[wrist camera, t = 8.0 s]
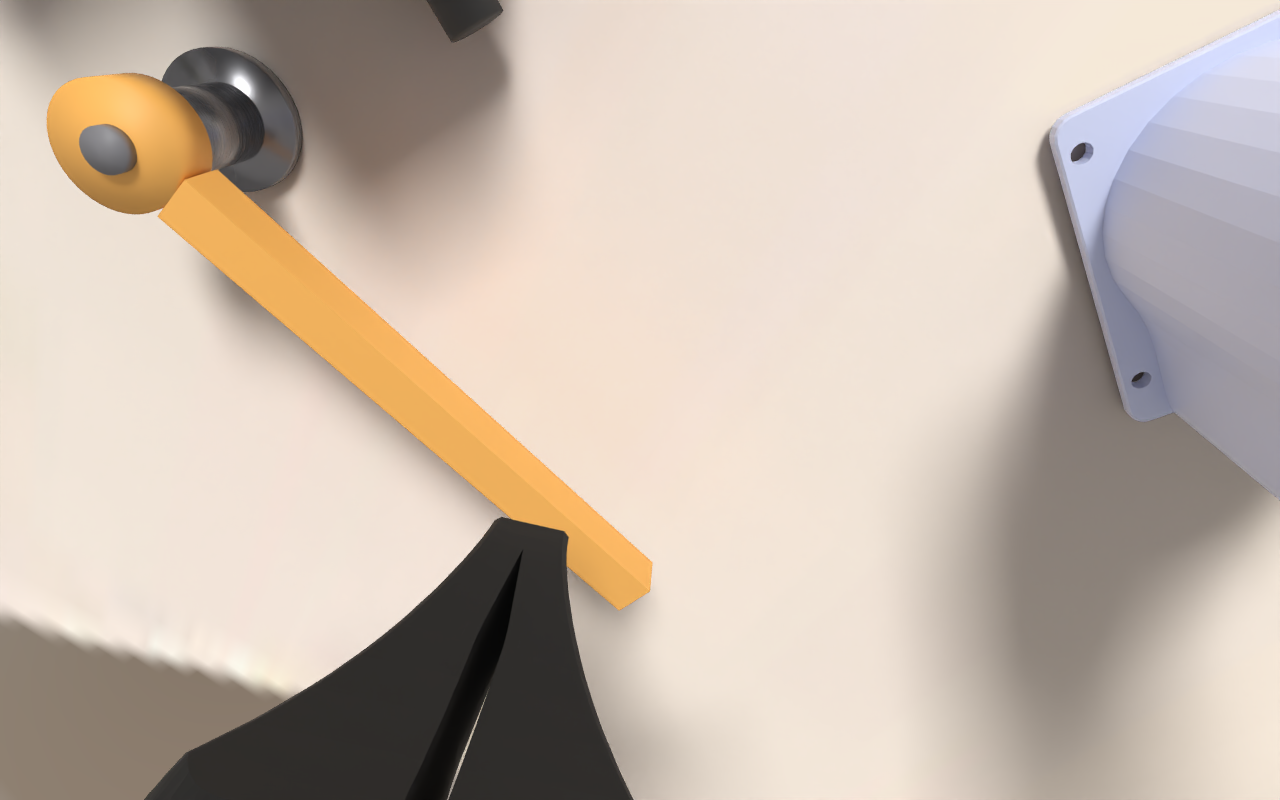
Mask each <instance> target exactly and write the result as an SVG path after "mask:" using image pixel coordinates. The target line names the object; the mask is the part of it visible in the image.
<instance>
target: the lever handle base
mask: <svg viewBox="0 0 1280 800" xmlns="http://www.w3.org/2000/svg"><path fill="white" fill-rule="evenodd" d="M162 82H164V83H166V84H167V85H169V86H170V87H172V88H173V89H175V90H176V91H177V92H178V93H179V94H181V95H182V96H183V97H184V98H185V99H186V100H187V101H188V102H189V104H190V105H191V106H192V107H193V108H194V110H195V111H196V113H197V114H198V116H199V117H200V119H201V120H202V122H203V124H204V126H205V128H206V131H207V133H208V136H209V139H210V143H211V148H212V159H213V160H212V169H211V171H214V170H219V171H220V172H221V173H222V174H223V175H224V176H225V177H226V178H227V179H228V180H230V181H231V182H232V183H233V184H234V185H235V186H236V187H237V188H238V189H240V190H241V191H242V192H253V191H258V190H262V189H265V188H267V187H270V186H272V185H275V184H277V183H278V182H280V181H282V180H283V179H284V178H285V177H287V176H288V175H289V173H290V172H291V171H292V170H293V168H294V167H295V165H296V163H297V160H298V158H299V155H300V151H301V144H302V130H301V123H300V119H299V115H298V112H297V109H296V106H295V104H294V102H293V100H292V98H291V96H290V94H289V92H288V91H287V89H286V88H285V86H284V85H283V84H282V82H281V81H280V80H279V78H278V77H277V76H276V75H275V74H274V73H273V72H272V71H271V70H270V69H269V68H267V67H266V66H265V65H264V64H263V63H261V62H260V61H258V60H257V59H255V58H254V57H252V56H250V55H248V54H246V53H243V52H241V51H238V50H235V49H231V48H226V47H206V48H197V49H193V50H190V51H188V52H185V53H183V54H182V55H180V56H179V57H177V58H176V59H175V60H174V61H173V62H172V63H171V65H170V66H169V67H168V69H167V70H166V72H165V74H164V76H163V79H162Z"/></svg>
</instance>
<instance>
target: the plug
mask: <svg viewBox="0 0 1280 800" xmlns="http://www.w3.org/2000/svg"><path fill="white" fill-rule="evenodd" d="M427 2H428V3H429V5H430V7H431V8H432V10H433V12H434V13H435V15H436V17H437V18H438V20H439V22H440V24H441V25H442V27H443V29H444V30H445V32H446V34H447V35H448V37H449V39H450V40H451V42H456V41H459V40H461V39H463V38H465V37H467V36H469V35H471V34H472V33H474V32H476V31H478V30H479V29H481V28H482V27H484V26H485V25H487V24H488V23H490V22H491V21H492V20H494V19H495V18H496V17H498V16H499V15H500V14H501V13H502V11H503V9H502V7H501V5H500V3H499V2H498V0H427Z"/></svg>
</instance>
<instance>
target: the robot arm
mask: <svg viewBox="0 0 1280 800" xmlns="http://www.w3.org/2000/svg"><path fill="white" fill-rule="evenodd" d="M1049 139H1050V146H1051V149H1052V153H1053V156H1054V160H1055V164H1056V167H1057V171H1058V174H1059V178H1060V181H1061V185H1062V189H1063V192H1064V196H1065V199H1066V203H1067V206H1068V210H1069V213H1070V217H1071V221H1072V224H1073V228H1074V231H1075V235H1076V238H1077V242H1078V246H1079V249H1080V253H1081V256H1082V260H1083V263H1084V267H1085V271H1086V274H1087V278H1088V281H1089V285H1090V288H1091V292H1092V296H1093V299H1094V303H1095V306H1096V310H1097V313H1098V317H1099V321H1100V324H1101V328H1102V331H1103V335H1104V338H1105V342H1106V346H1107V349H1108V353H1109V356H1110V360H1111V363H1112V367H1113V371H1114V374H1115V378H1116V381H1117V385H1118V388H1119V392H1120V396H1121V399H1122V403H1123V406H1124V409H1125V411H1126V412H1127V414H1128V415H1129V416H1131V417H1132V418H1133V419H1135V420H1136V421H1141V422H1146V421H1150V420H1154V419H1156V418H1159V417H1162V416H1165V415H1168V414H1170V413H1173V412H1174V413H1176V414H1177V415H1178V416H1179V417H1180V418H1182V419H1183V420H1184V421H1185V422H1186V423H1188V424H1189V425H1190V426H1191V427H1192V428H1194V429H1195V430H1196V431H1197V432H1198V433H1200V434H1201V435H1202V436H1203V437H1204V438H1206V439H1207V440H1208V441H1209V442H1210V443H1212V444H1213V445H1214V446H1215V447H1216V448H1217V449H1219V450H1220V451H1221V452H1222V453H1223V454H1225V455H1226V456H1227V457H1228V458H1229V459H1231V460H1232V461H1233V462H1234V463H1235V464H1237V465H1238V466H1239V467H1240V468H1241V469H1243V470H1244V471H1245V472H1246V473H1247V474H1249V475H1250V476H1251V477H1252V478H1253V479H1255V480H1256V481H1257V482H1258V483H1259V484H1261V485H1262V486H1263V487H1264V488H1265V489H1267V490H1268V491H1269V492H1270V493H1271V494H1273V495H1274V496H1275V497H1276V498H1277V499H1279V500H1280V10H1278V11H1276V12H1274V13H1271V14H1269V15H1267V16H1265V17H1263V18H1261V19H1259V20H1257V21H1255V22H1253V23H1251V24H1249V25H1247V26H1245V27H1243V28H1241V29H1239V30H1237V31H1235V32H1232V33H1230V34H1228V35H1226V36H1224V37H1222V38H1220V39H1218V40H1216V41H1214V42H1212V43H1210V44H1208V45H1206V46H1204V47H1202V48H1200V49H1198V50H1195V51H1193V52H1191V53H1189V54H1187V55H1185V56H1183V57H1181V58H1179V59H1177V60H1175V61H1173V62H1171V63H1169V64H1167V65H1165V66H1163V67H1161V68H1158V69H1156V70H1154V71H1152V72H1150V73H1148V74H1146V75H1144V76H1142V77H1140V78H1138V79H1136V80H1134V81H1132V82H1130V83H1128V84H1126V85H1124V86H1122V87H1119V88H1117V89H1115V90H1113V91H1111V92H1109V93H1107V94H1105V95H1103V96H1101V97H1099V98H1097V99H1095V100H1093V101H1091V102H1089V103H1087V104H1085V105H1082V106H1080V107H1078V108H1076V109H1074V110H1072V111H1070V112H1068V113H1066V114H1064V115H1063V116H1062V117H1060V118H1059V119H1058V120H1057V121H1056V122H1055V123H1054V125H1053V126H1052V128H1051V131H1050V134H1049ZM1079 143H1084V144H1085V145H1086V152H1085V153H1084V155H1083V157H1082V158H1080V159H1079V160H1078V161H1074V162H1072V160H1071V152H1072V150H1073V148H1074V147H1075V146H1077V145H1078V144H1079ZM1140 372H1144V375H1143V376H1142V378H1141V379H1139V380H1138V381H1136V382H1132V379H1133V377H1134V376H1135V375H1136V374H1138V373H1140ZM568 539H569V537H568V535H567V534H566V533H565V531H561V530H557V529H553V528H548V527H544V526H539V525H535V524H530V523H526V522H521V521H517V520H513V519H508V518H504V517H501V518H499V519H497V520H495V521H494V522H493V524H492V525H491V527H490V528H489V530H488V531H487V532H486V534H485V535H484V536H483V538H482V539H481V540H480V541H479V543H478V544H477V545H476V546H475V547H474V548H473V550H472V551H471V552H470V553H469V554H468V555H467V556H466V558H465V559H464V560H463V561H462V562H461V563H460V564H459V565H458V566H457V567H456V568H455V569H454V570H453V571H452V573H451V574H450V575H449V576H448V577H447V578H446V579H445V580H444V581H443V582H442V583H441V584H440V585H439V586H438V587H437V588H436V589H435V590H434V591H433V592H432V593H431V594H430V595H428V596H427V597H426V598H425V599H424V600H423V601H422V602H421V603H420V604H419V605H418V606H416V607H415V608H414V609H413V610H412V611H411V612H410V613H409V614H408V615H407V616H405V617H404V618H403V619H402V620H401V621H400V622H398V623H397V624H396V625H395V626H394V627H392V628H391V629H390V630H389V631H388V632H386V633H385V634H384V635H383V636H381V637H380V638H379V639H377V640H376V641H375V642H373V643H372V644H371V645H370V646H368V647H367V648H366V649H364V650H363V651H362V652H360V653H359V654H357V655H356V656H355V657H353V658H352V659H350V660H349V661H347V662H346V663H345V664H343V665H342V666H340V667H339V668H337V669H336V670H335V671H333V672H332V673H330V674H329V675H327V676H326V677H324V678H323V679H321V680H319V681H318V682H316V683H315V684H313V685H312V686H310V687H308V688H307V689H305V690H303V691H301V692H300V693H298V694H296V695H295V696H293V697H291V698H290V699H288V700H286V701H284V702H283V703H281V704H279V705H278V706H276V707H274V708H273V709H271V710H269V711H268V712H266V713H264V714H262V715H260V716H259V717H257V718H255V719H253V720H251V721H249V722H247V723H245V724H243V725H241V726H240V727H237V728H235V729H233V730H231V731H229V732H227V733H225V734H223V735H221V736H219V737H217V738H215V739H213V740H211V741H209V742H207V743H205V744H203V745H201V746H199V747H197V748H195V749H193V750H191V751H189V752H187V753H185V754H184V756H183V757H182V758H181V759H180V760H179V761H178V762H177V763H176V764H175V765H174V766H173V767H172V768H171V769H170V771H169V772H168V773H167V774H166V775H165V776H164V777H163V778H162V780H161V781H160V782H159V783H158V784H157V785H156V787H155V788H154V789H153V790H152V791H151V792H150V793H149V794H148V795H147V797H146V798H145V799H144V800H447V798H448V795H449V791H450V788H451V785H452V782H453V779H454V776H455V774H456V771H457V768H458V765H459V762H460V759H461V757H462V754H463V752H464V749H465V747H466V744H467V742H468V739H469V737H470V734H471V732H472V729H473V727H474V725H475V722H476V720H477V717H478V715H479V712H480V710H481V707H482V705H483V702H484V700H485V702H484V705H483V707H482V710H481V713H480V716H479V719H478V722H477V725H476V727H475V730H474V733H473V736H472V738H471V741H470V744H469V747H468V749H467V752H466V755H465V758H464V760H463V763H462V766H461V769H460V771H459V774H458V776H457V779H456V782H455V784H454V787H453V789H452V792H451V795H450V797H449V800H633V798H632V796H631V794H630V792H629V790H628V788H627V786H626V783H625V781H624V779H623V777H622V775H621V773H620V771H619V768H618V766H617V764H616V761H615V759H614V756H613V754H612V752H611V749H610V747H609V744H608V742H607V740H606V737H605V735H604V732H603V730H602V727H601V725H600V722H599V719H598V716H597V713H596V710H595V707H594V704H593V701H592V698H591V695H590V692H589V688H588V685H587V682H586V678H585V675H584V671H583V667H582V663H581V659H580V655H579V651H578V646H577V642H576V637H575V632H574V627H573V621H572V614H571V607H570V601H569V593H568V582H567V545H568ZM487 692H488V693H487ZM486 695H487V696H486ZM485 697H486V699H485Z"/></svg>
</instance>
